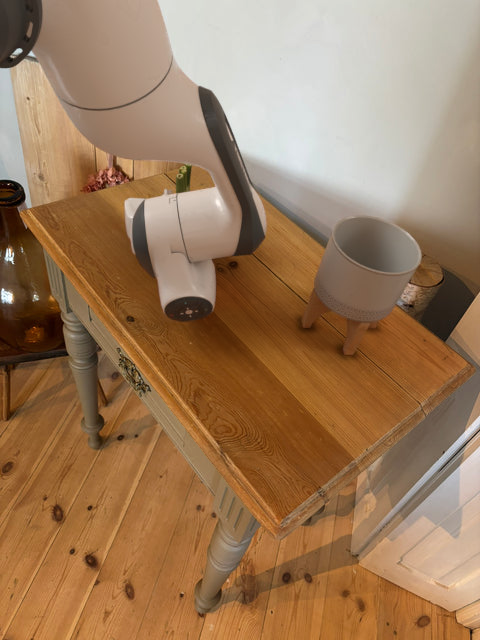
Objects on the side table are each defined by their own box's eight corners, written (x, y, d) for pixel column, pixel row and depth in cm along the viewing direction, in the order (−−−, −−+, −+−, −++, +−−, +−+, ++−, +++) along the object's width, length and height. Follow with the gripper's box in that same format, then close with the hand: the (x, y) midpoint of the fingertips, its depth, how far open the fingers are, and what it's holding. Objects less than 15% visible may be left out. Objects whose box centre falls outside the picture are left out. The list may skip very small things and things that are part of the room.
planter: (294, 296, 81) (322, 212, 68) (362, 298, 84) (402, 217, 71) (310, 355, 73) (346, 272, 60) (385, 355, 75) (436, 275, 62)
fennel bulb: (183, 213, 92) (187, 158, 83) (200, 225, 90) (206, 170, 81) (161, 224, 89) (162, 167, 80) (178, 237, 87) (182, 180, 78)
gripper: (249, 229, 76) (239, 182, 85) (121, 222, 72) (125, 174, 81) (243, 258, 81) (235, 211, 89) (122, 253, 77) (126, 204, 86)
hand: (182, 193), depth 85 cm, fingers open, 4 cm apart
